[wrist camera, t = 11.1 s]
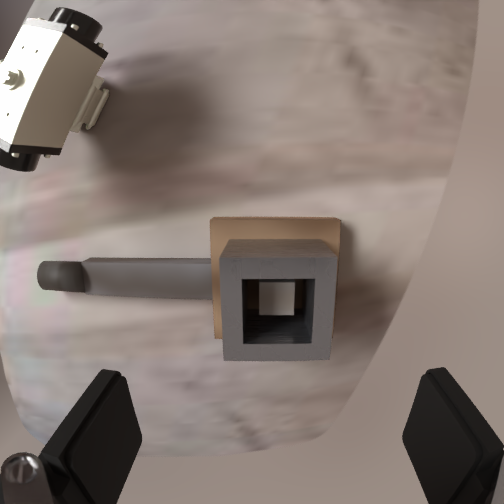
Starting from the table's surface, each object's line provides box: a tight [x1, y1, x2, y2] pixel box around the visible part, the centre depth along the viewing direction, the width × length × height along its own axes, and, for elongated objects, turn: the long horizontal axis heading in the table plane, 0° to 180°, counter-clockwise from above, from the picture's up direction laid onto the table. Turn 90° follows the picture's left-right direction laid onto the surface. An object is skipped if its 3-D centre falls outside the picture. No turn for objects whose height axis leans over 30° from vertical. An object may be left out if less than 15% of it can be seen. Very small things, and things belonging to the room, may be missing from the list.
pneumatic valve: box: [0, 7, 109, 172], centre depth 19 cm, size 6×12×12 cm, turn 152°
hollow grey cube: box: [219, 239, 338, 361], centre depth 23 cm, size 7×7×6 cm
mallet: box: [37, 217, 341, 339], centre depth 25 cm, size 10×27×6 cm, turn 90°
